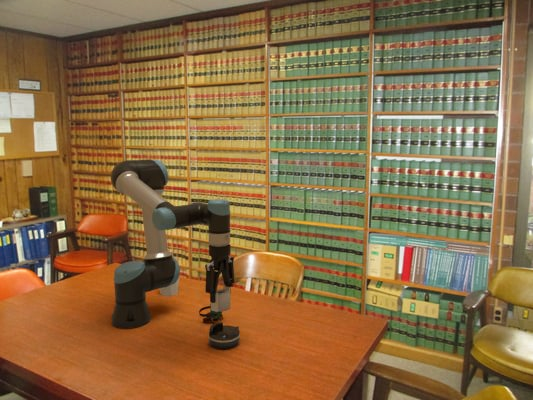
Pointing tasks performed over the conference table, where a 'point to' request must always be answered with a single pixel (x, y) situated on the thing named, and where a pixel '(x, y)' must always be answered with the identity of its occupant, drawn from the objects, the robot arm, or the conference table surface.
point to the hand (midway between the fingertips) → (220, 307)
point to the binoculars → (211, 315)
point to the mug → (170, 289)
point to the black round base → (223, 336)
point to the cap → (223, 300)
